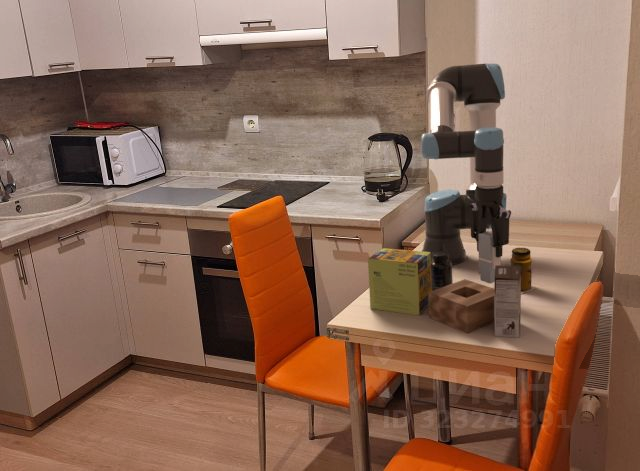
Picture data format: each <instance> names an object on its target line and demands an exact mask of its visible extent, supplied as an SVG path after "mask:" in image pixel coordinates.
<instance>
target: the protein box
mask: <svg viewBox="0 0 640 471" xmlns="http://www.w3.org/2000/svg"><path fill="white" fill-rule="evenodd" d="M430 253H431V252H422V250H420V251H419V250H412V249H411V250H408V249H395V248H384V247H383V248H381V249H380V250H378V251H377V252H376V253H374V254H372V255H371V256H369V258H368V259H367V268H368V286H369V287H368V288H369V289H368V290H369V302H370V303H369V307H370V308H369V309H371V310H378V311H385V312H390V313H391V312H392V313H398V314H406V315H413V316H420V315H421V314H423V312H424V311H425V310H426V309H427V308H429V292H431V291H432V284H431V254H430Z"/></svg>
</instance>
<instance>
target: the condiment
mask: <svg viewBox="0 0 640 471" xmlns="http://www.w3.org/2000/svg"><path fill="white" fill-rule="evenodd" d="M531 257H532V256H531V250H530V249H529V248H526V247H515V248H513V249H512V250H511V258H510V265H509V266H520V268H521V295H523V294H525V293H527V292H531V291H534V290H536V289H538V288H539V287H537V286H534V285H532V277H533V276H532V273H533V272H532V270H533V269H532V265H533V264H532V262H533V261H532V258H531Z"/></svg>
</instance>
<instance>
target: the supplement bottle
mask: <svg viewBox="0 0 640 471" xmlns="http://www.w3.org/2000/svg"><path fill="white" fill-rule="evenodd" d="M448 259H449V257H448V253H447V252H445V251H436V252H433V253H432V260H433V261H432V262H431V284H432V291H434V290H436V289H439V288H442V287H445V286H447V285H450V284H453V283H454V282H453V280H454V279H453V264H451V262H450V261H448Z"/></svg>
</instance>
